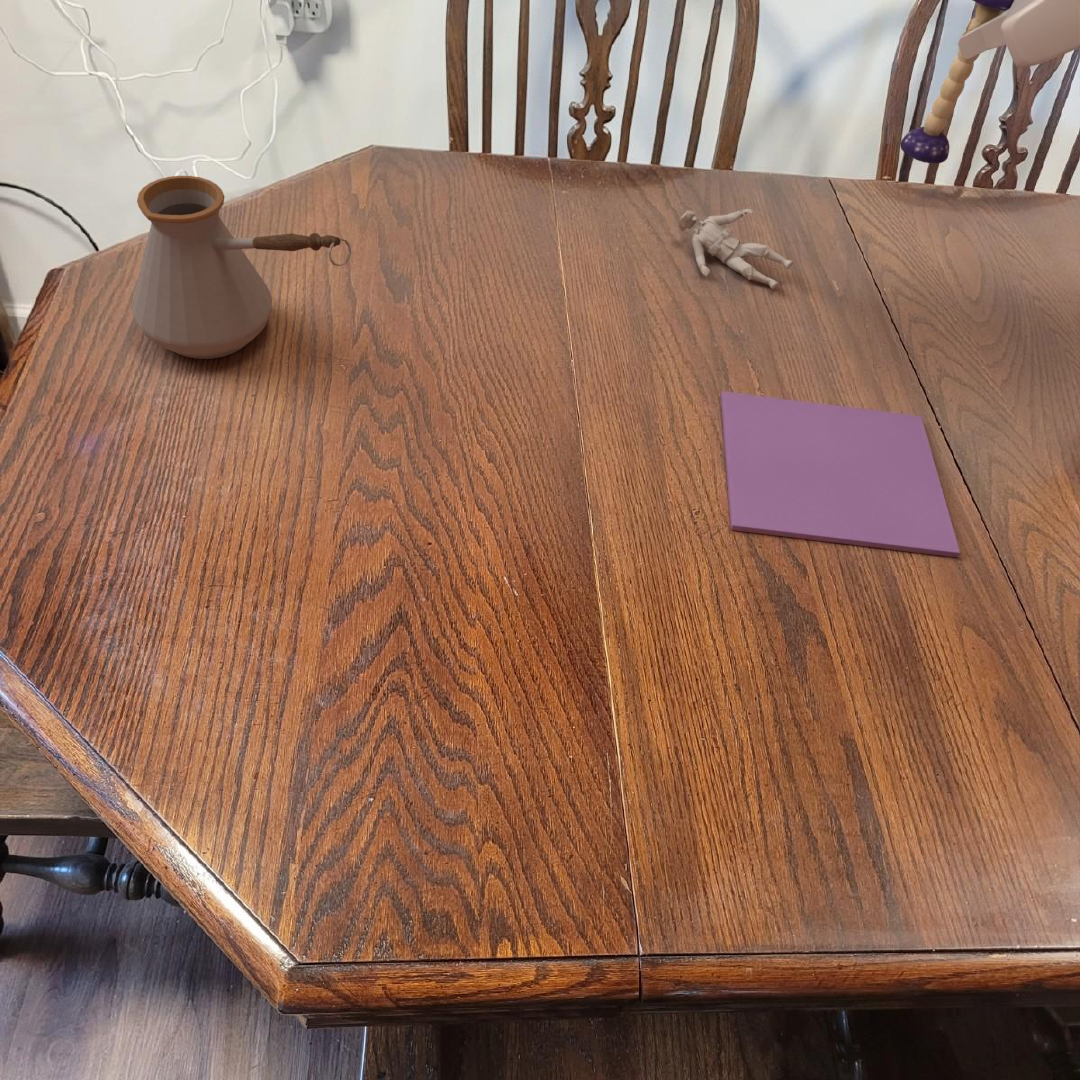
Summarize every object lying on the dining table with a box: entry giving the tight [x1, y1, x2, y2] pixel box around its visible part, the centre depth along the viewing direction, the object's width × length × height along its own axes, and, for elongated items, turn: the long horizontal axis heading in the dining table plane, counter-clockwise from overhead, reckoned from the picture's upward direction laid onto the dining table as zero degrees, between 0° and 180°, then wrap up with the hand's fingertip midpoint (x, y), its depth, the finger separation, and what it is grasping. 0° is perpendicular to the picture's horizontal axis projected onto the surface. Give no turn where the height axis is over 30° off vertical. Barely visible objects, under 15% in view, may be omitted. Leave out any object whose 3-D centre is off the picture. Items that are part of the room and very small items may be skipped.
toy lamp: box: [899, 0, 1014, 164], centre depth 77 cm, size 5×5×17 cm
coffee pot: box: [131, 175, 352, 360], centre depth 76 cm, size 21×12×15 cm, turn 61°
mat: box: [720, 390, 961, 558], centre depth 78 cm, size 18×16×1 cm
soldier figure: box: [678, 208, 795, 290], centre depth 96 cm, size 8×5×12 cm
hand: (965, 41), depth 76 cm, fingers closed on toy lamp
